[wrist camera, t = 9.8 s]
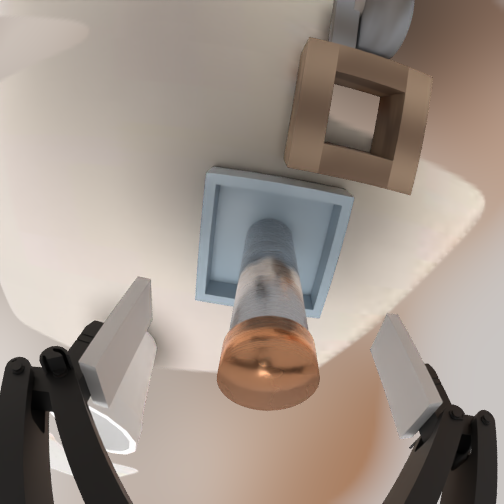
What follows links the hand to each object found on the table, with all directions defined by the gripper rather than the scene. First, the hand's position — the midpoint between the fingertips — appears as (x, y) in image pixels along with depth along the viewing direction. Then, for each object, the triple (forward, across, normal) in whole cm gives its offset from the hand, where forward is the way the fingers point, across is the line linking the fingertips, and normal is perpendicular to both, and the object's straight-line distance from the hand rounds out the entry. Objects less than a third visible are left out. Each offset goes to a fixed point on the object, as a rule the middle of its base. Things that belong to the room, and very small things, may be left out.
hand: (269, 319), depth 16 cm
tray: (+11, 0, 0) cm, 11 cm away
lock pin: (+11, 0, 0) cm, 11 cm away
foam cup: (+12, -14, -16) cm, 24 cm away
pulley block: (+11, +5, +16) cm, 20 cm away
